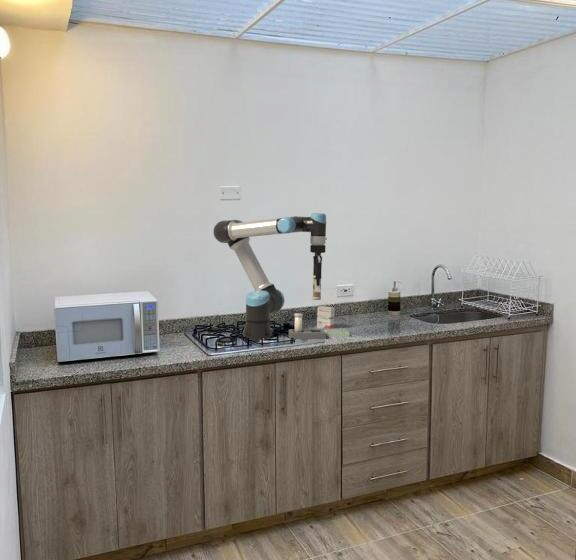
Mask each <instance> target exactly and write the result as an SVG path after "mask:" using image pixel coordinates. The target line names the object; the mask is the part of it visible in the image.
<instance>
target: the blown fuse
mask: <svg viewBox="0 0 576 560" xmlns="http://www.w3.org/2000/svg"><path fill="white" fill-rule="evenodd" d="M315 277H316V275H312V280H313V282H312V283H313V284H312V300H313V301H320V300H321V299H322V297H321V296H322V295H321V294H322V292H321V291H322V283H321V284H320V292H315V279H314V278H315Z"/></svg>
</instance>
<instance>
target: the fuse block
mask: <svg viewBox="0 0 576 560" xmlns="http://www.w3.org/2000/svg"><path fill="white" fill-rule="evenodd" d="M324 330H325V328H310V329H309V328H302V332H295V328H294V329H293V328H290V329H288V337H289V340H292V339H291V338H294V339H293V340H326V339H327V337H326V332H325V331H324Z"/></svg>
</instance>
